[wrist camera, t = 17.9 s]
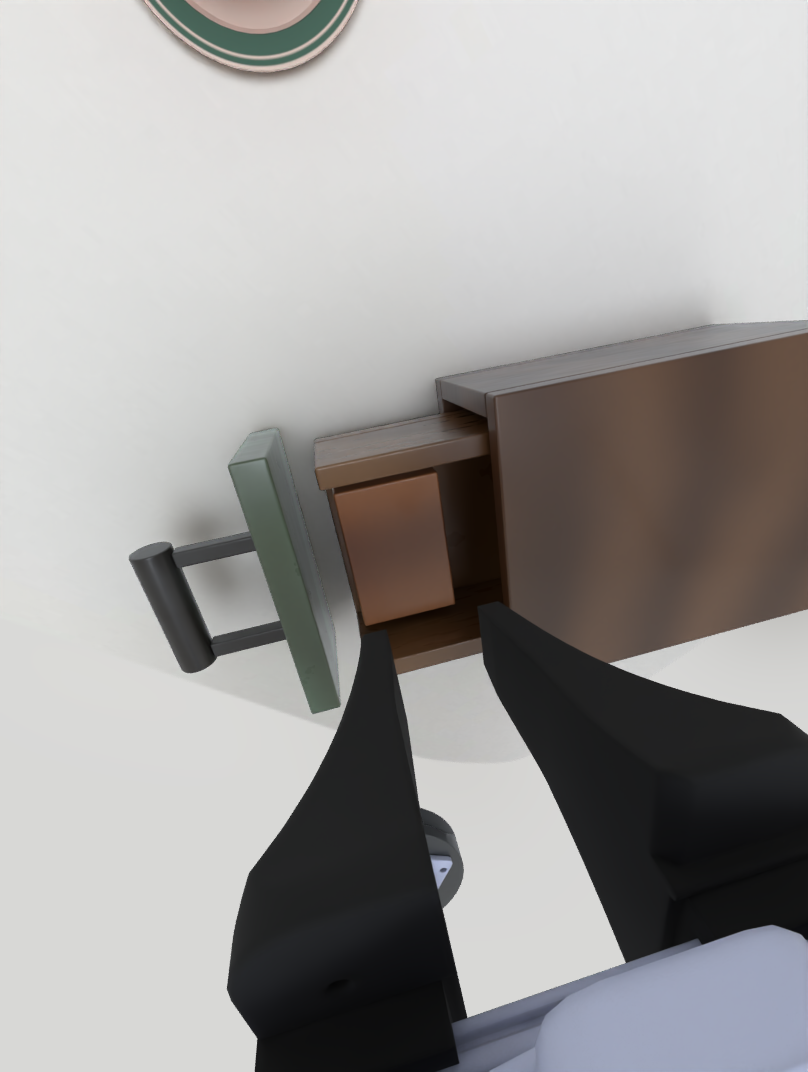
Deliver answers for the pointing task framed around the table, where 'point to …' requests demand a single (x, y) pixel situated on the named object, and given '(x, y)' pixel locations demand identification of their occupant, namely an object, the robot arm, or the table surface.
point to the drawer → (290, 563)
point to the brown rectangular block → (396, 544)
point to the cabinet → (650, 484)
